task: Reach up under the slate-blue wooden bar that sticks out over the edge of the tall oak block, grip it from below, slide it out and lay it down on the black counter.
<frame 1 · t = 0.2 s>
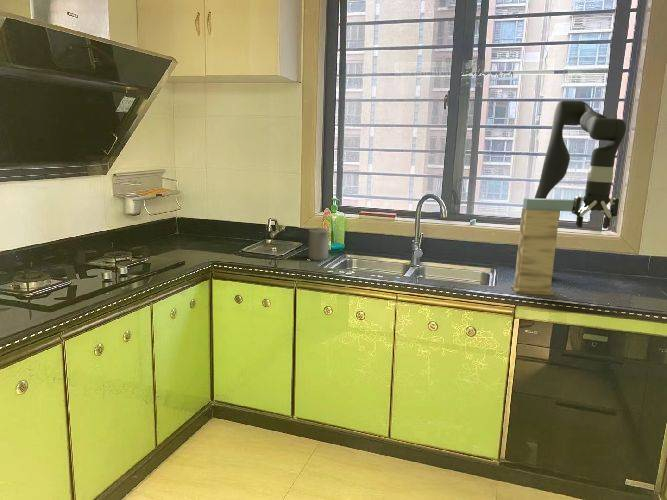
hand: (591, 227, 179), 29 cm above the worktop, tool pointing down, fingers open, 8 cm apart
syrup box: (523, 284, 215), on the worktop
oak block: (531, 291, 205), on the worktop
slate bar: (551, 210, 198), point 32 cm above the worktop, touching oak block
pillar candle: (318, 258, 252), on the worktop
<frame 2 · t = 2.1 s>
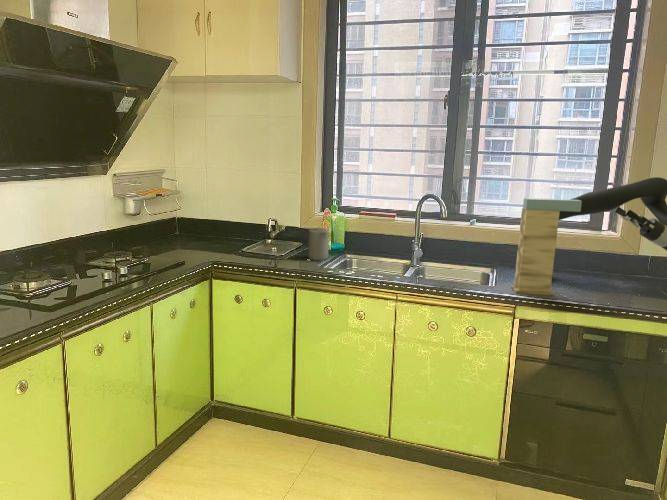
hand: (621, 210, 195), 33 cm above the worktop, tool pointing upward, fingers open, 8 cm apart
nothing on the worktop moved.
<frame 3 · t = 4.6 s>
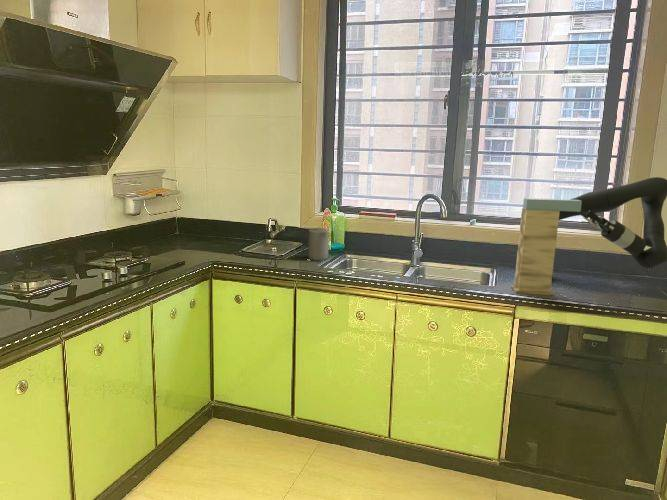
hand: (583, 211, 198), 32 cm above the worktop, tool pointing upward, fingers open, 8 cm apart
nothing on the worktop moved.
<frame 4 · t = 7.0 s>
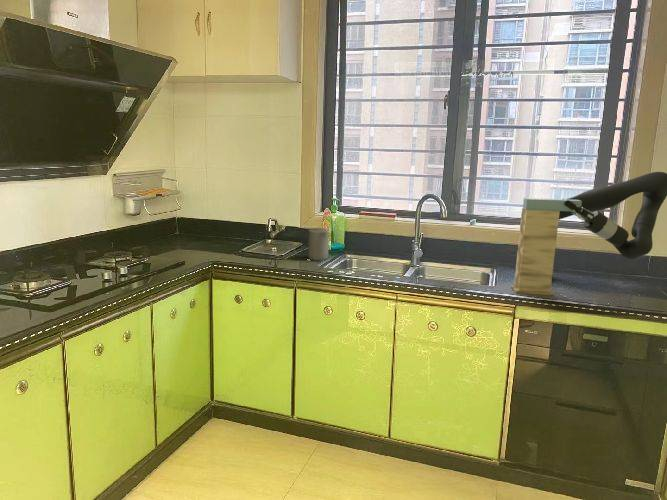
hand: (563, 201, 197), 35 cm above the worktop, tool pointing upward, fingers closed on slate bar, 4 cm apart
slate bar: (551, 210, 198), point 32 cm above the worktop, touching gripper, oak block
everything else where it was.
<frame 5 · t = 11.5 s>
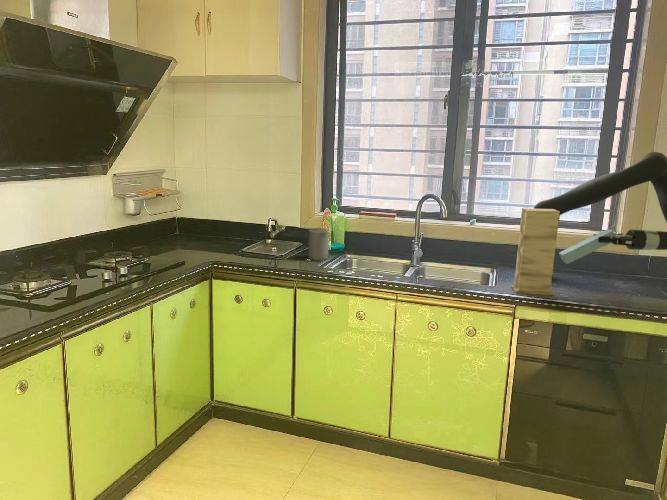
hand: (596, 238, 199), 22 cm above the worktop, tool horizontal, fingers closed on slate bar, 4 cm apart
slate bar: (589, 251, 201), point 17 cm above the worktop, tilted 30°, touching gripper
everything else where it was.
when the fingers open (11 cm above the worktop, at t = 14.6 s): slate bar drops 6 cm, on the worktop.
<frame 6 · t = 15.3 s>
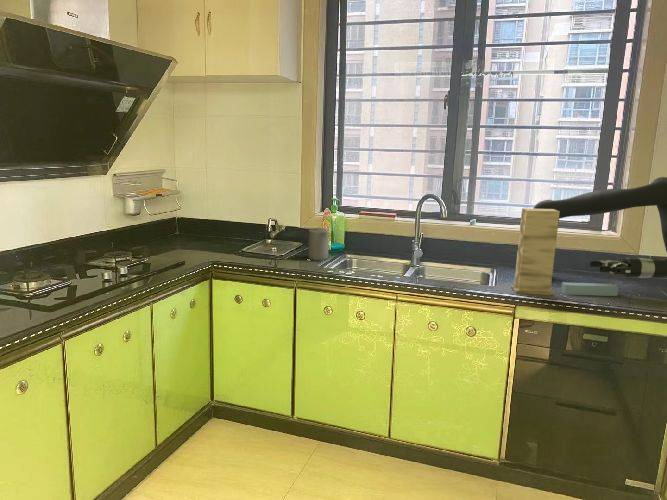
hand: (594, 266, 202), 11 cm above the worktop, tool horizontal, fingers open, 8 cm apart
slate bar: (588, 294, 204), on the worktop
everything else where it was.
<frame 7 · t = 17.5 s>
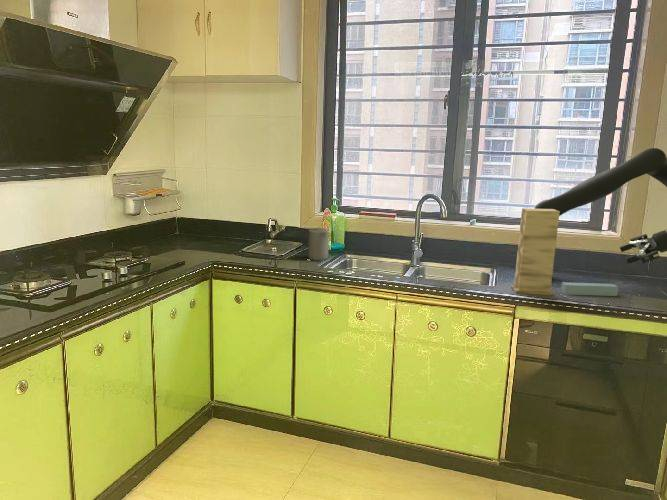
hand: (623, 255, 200), 16 cm above the worktop, tool tilted 60°, fingers open, 8 cm apart
nothing on the worktop moved.
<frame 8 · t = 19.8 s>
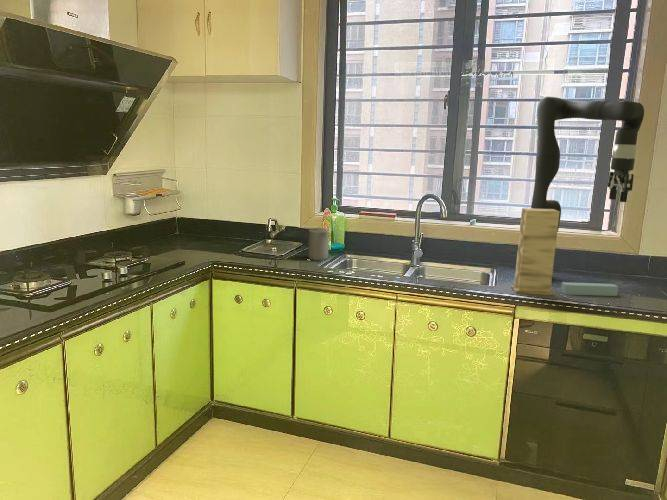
hand: (617, 200, 199), 36 cm above the worktop, tool pointing down, fingers open, 8 cm apart
nothing on the worktop moved.
at the end: the gripper is holding nothing; slate bar on the worktop; slate bar inside the target area (0.4 cm from its centre), on the worktop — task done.
